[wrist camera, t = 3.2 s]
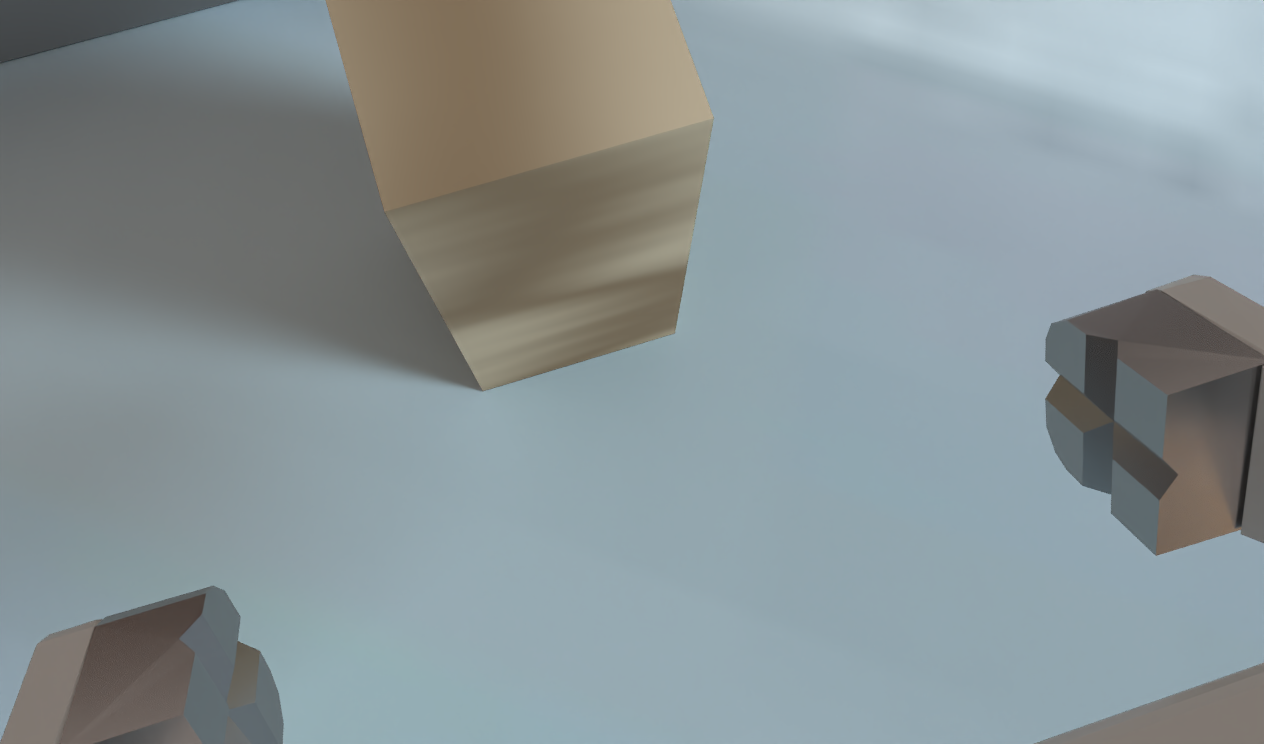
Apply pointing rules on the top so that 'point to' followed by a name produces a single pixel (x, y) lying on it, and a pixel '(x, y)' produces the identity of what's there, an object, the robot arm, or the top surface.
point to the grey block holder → (79, 20)
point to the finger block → (534, 166)
